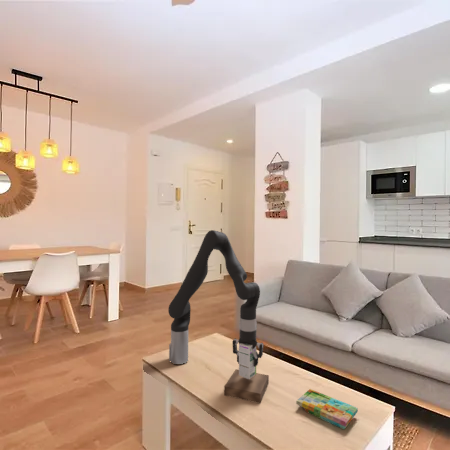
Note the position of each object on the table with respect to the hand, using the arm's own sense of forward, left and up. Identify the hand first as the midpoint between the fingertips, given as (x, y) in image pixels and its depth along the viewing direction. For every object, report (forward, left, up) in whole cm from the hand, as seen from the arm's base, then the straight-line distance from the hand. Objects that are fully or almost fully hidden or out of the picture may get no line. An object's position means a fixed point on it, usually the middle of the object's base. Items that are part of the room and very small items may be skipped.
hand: (247, 364), depth 138 cm
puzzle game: (+34, -5, -12) cm, 36 cm away
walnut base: (0, 0, -11) cm, 11 cm away
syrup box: (0, 0, -5) cm, 5 cm away
